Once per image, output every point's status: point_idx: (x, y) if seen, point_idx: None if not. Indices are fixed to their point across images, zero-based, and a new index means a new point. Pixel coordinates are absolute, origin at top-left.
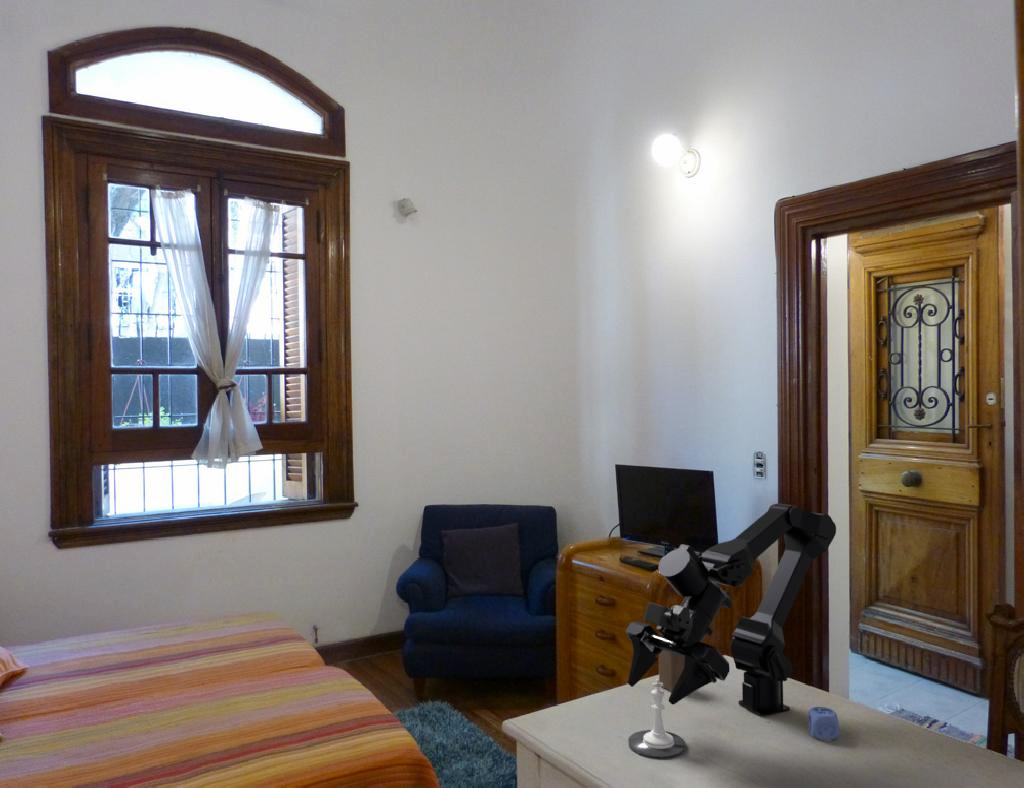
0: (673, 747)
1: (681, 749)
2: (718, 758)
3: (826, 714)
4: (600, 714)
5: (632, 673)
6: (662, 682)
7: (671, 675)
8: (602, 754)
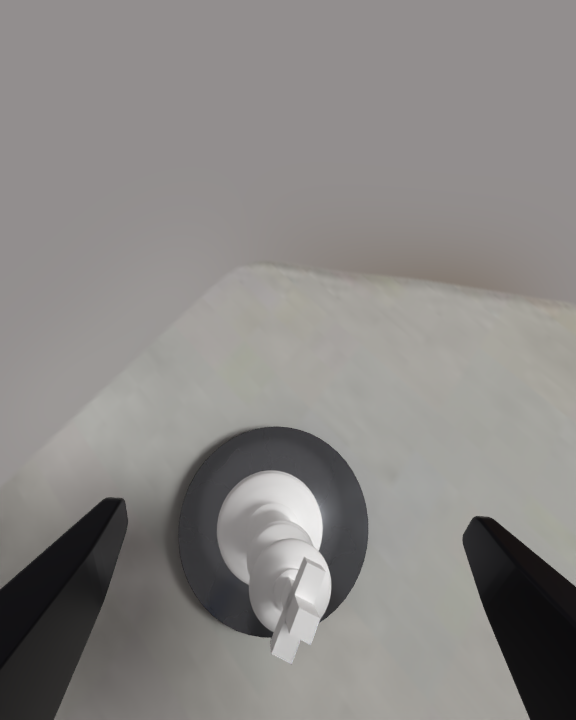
0: (210, 536)
1: (180, 547)
2: None
3: None
4: (552, 549)
5: (534, 575)
6: None
7: None
8: (332, 352)
